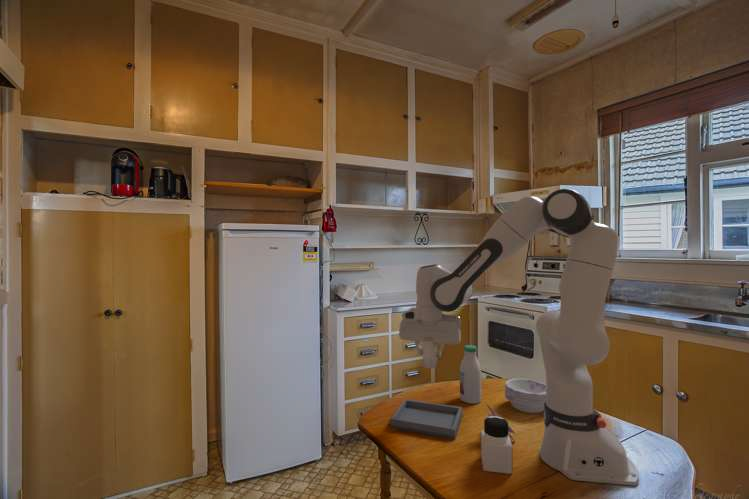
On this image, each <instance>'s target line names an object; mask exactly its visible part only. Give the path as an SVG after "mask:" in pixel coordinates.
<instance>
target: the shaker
mask: <svg viewBox="0 0 749 499" xmlns="http://www.w3.org/2000/svg"><path fill="white" fill-rule="evenodd" d="M437 344H438V343H434V342H433V337H424V341H422V348H423V355H422V367H423V368H426V369H434V368H437V367H438V366H437V360H438V359H437V358H438V356H436V350H438V349H437V347H438V346H437Z"/></svg>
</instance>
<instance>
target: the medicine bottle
mask: <svg viewBox="0 0 749 499" xmlns="http://www.w3.org/2000/svg"><path fill="white" fill-rule="evenodd" d="M483 421H484V422H483V424H484V425H483V430H481V431H480V448H481V449H480V457H481V465H482V470H483V471H484V472H490V473H497V474H498V473H501V474H506V475H507V474H509V475H512V474H513V444H512V441H511V438H510V436H509V434H510V433H509V432H508V426H509V422H508V421H507V420H506V419H505V418H504V417H500V416H498V417H497V416H487V417H486V418H485V419H484V420H483ZM508 433H509V434H508Z"/></svg>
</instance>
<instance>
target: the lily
mask: <svg viewBox="0 0 749 499" xmlns="http://www.w3.org/2000/svg"><path fill="white" fill-rule="evenodd" d="M484 404H485V405H486V407H487V408H488V409H489V411H490V413H491V414H490V413H487V416H488V417H490V416H497V417H499V415H498V414H497V413H495V411H494V410H493V409H492V407H490V405H489V404H487V403H486V402H484ZM508 434H509V437H510V440H512V441H513V442H514V443H516V441H515V440H514V438H513V437H512V435H511V434H513V435H517V433H516V432H515V430H514V429H512V428H511V427H510V425H508Z"/></svg>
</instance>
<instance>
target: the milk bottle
mask: <svg viewBox="0 0 749 499" xmlns="http://www.w3.org/2000/svg"><path fill="white" fill-rule="evenodd" d="M463 350H464V351H463V353H464V355H463V358H462V361H461V362H460V367H459V399H460V401H461V402H463V403H465V404H471V405H475V404H480V403H481V401H482V367H481V364H480V362H479V360H478V357H477V352H478V347H477V346H476V345H473V344H466V345H464V346H463Z"/></svg>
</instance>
